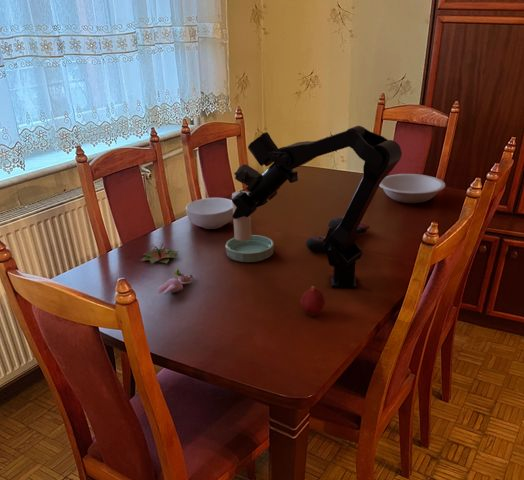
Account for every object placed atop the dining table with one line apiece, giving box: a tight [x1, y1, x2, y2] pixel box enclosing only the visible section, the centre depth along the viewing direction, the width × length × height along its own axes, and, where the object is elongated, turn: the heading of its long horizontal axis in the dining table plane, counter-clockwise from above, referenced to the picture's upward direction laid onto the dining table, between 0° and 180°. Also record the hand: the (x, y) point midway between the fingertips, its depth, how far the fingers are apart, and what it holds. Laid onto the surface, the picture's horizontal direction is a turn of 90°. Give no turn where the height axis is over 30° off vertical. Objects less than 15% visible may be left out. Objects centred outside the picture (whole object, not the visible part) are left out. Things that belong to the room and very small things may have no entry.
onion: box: [300, 285, 326, 317], centre depth 132 cm, size 6×6×8 cm
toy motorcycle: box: [305, 217, 370, 253], centre depth 171 cm, size 25×5×16 cm
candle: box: [231, 189, 253, 241], centre depth 155 cm, size 5×5×14 cm
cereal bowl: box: [185, 197, 234, 230], centre depth 185 cm, size 17×17×7 cm
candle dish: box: [225, 234, 275, 263], centre depth 165 cm, size 14×14×3 cm
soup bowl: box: [379, 173, 446, 204], centre depth 201 cm, size 24×24×7 cm
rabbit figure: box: [157, 268, 194, 295], centre depth 145 cm, size 6×6×15 cm
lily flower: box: [141, 242, 179, 265], centre depth 164 cm, size 12×12×5 cm
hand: (237, 214), depth 156 cm, fingers closed on candle, 5 cm apart
